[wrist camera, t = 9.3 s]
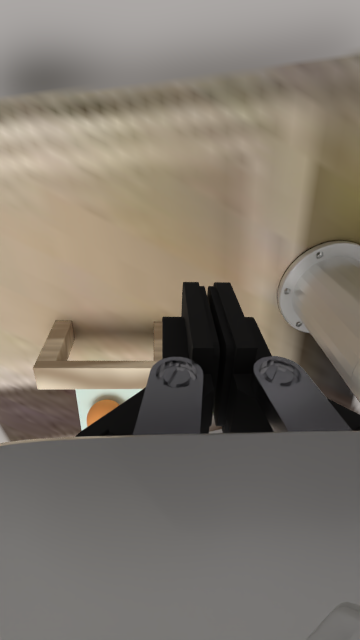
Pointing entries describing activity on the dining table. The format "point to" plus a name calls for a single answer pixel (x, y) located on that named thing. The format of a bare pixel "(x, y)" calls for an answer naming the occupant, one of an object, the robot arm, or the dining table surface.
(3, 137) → the dining table surface
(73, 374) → the bridge
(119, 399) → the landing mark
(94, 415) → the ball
